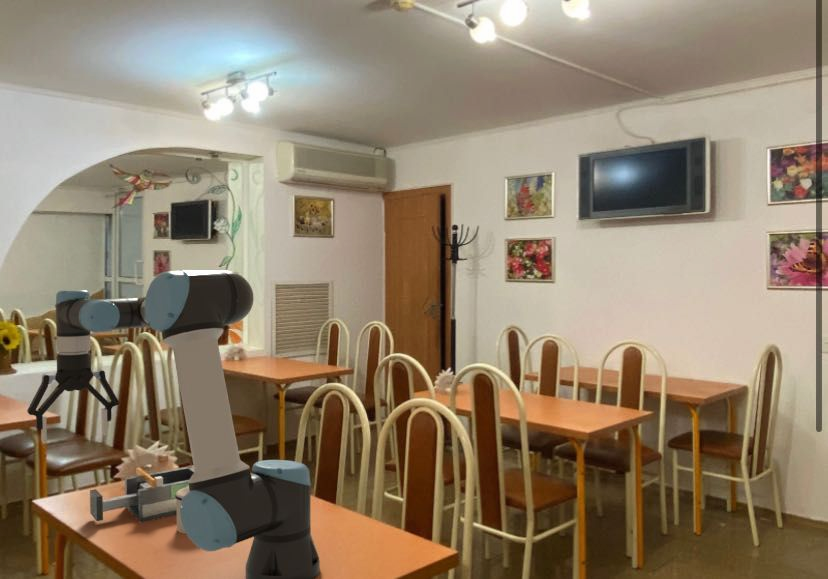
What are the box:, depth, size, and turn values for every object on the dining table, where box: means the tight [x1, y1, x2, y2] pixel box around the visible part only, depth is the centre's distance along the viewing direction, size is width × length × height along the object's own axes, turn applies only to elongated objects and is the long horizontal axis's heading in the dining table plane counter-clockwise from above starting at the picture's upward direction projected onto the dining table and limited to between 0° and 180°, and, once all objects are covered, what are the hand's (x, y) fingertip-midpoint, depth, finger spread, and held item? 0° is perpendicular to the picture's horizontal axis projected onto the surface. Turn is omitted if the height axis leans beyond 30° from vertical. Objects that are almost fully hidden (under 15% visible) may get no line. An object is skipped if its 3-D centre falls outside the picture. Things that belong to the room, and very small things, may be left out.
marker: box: [154, 476, 163, 487], centre depth 176 cm, size 2×2×2 cm
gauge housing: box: [124, 465, 195, 523], centre depth 183 cm, size 14×18×8 cm
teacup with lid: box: [175, 485, 190, 535], centre depth 170 cm, size 12×9×12 cm
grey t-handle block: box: [89, 467, 155, 522], centre depth 177 cm, size 14×16×9 cm
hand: (75, 438), depth 170 cm, fingers open, 13 cm apart
